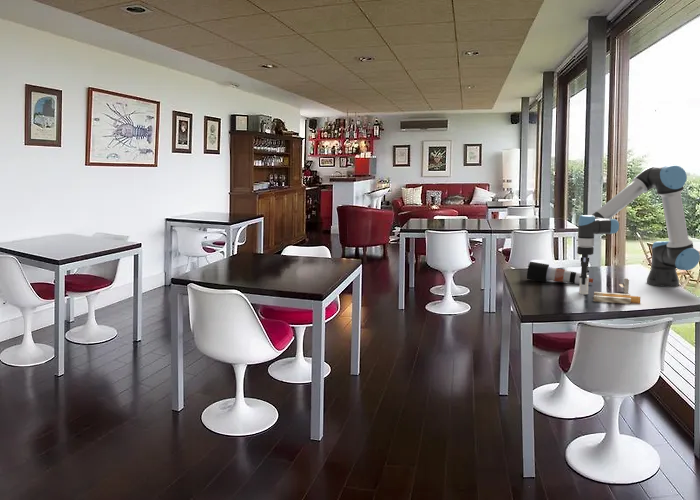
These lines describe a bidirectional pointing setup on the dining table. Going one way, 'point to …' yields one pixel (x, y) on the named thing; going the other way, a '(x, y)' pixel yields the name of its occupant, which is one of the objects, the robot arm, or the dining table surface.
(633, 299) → the orange rod
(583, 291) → the white tall block
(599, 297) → the clip rails
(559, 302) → the dining table surface
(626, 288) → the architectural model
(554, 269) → the black white tapered cylinder
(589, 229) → the robot arm
